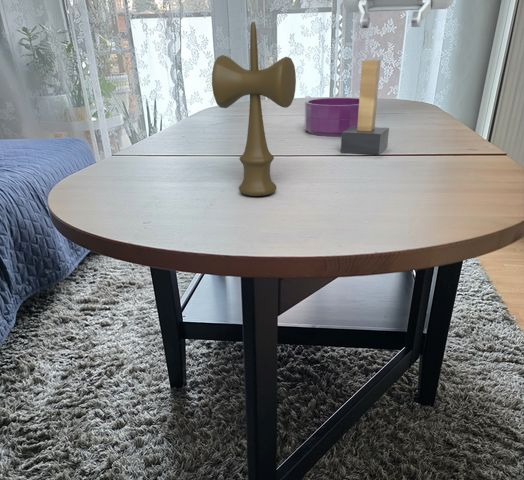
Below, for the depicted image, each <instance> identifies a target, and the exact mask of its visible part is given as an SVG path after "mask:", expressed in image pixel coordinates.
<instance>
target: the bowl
mask: <svg viewBox="0 0 524 480" xmlns="http://www.w3.org/2000/svg"><path fill="white" fill-rule="evenodd" d="M358 111H359V98H357V97H323V98H314V99H308V100H306V101H305V102H304V129H305V130H307V132H308V134H310V135H313V136H314V135H315V136H321V137H342V132H343V131H345V130H347V129H349V128H350V127H352V126H357V125H358Z"/></svg>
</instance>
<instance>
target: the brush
mask: <svg viewBox="0 0 524 480" xmlns="http://www.w3.org/2000/svg"><path fill="white" fill-rule="evenodd" d="M360 71H361V72H360V87H359V111H358V125H357V126H352V127H350V128H349V129H347V130H345V131H343V132H342V136H341V138H340V139H341V140H340V153H342V154H355V155H356V154H357V155H371V156H372V155H373V156H379V155H380V154H381V153H382V152H384V151H386V149H387V148H388V144H389V143H388V142H389V132H390V128H389V127H379V126H378V127H377V126H376V117H377V105H378V95H379V94H378V93H379V83H380V82H379V81H380V73H381V72H380V71H381V59H365V60H362V61H361V69H360Z"/></svg>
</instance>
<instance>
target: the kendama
mask: <svg viewBox="0 0 524 480" xmlns="http://www.w3.org/2000/svg"><path fill="white" fill-rule="evenodd" d="M249 32H250V35H249V39H250V40H249V44H250V45H249V55H250V56H249V65H250V66H249V69H246V68H244V67H242V66H241V65H239V64H238V63H237V62H236V61H234V59H232V58H231V57H229V56H227V55H224V54H221V55H219V56H217V57H216V59H215V61H214V62H213V65H212V66H213V67H212V73H211V89H212V94H213V97H214V100H215V103H216V104H217V106H218V107H219V108H221V109H227V108H229V107H231V106H232V105H233V104H235V103H236V102H237V101H238V100H240V99H242V98H243V97H245V96H249V110H248V111H249V113H248V125H247V135H246V143H245V148H244V152H243V153H242V155H240V157H238V158H239V161H240V163H241V164H242V166H243V178H242V182H241V183H240V185H238V191H239V192H240V193H241V194H242V195H245V196H250V197H262V196H268V195H271V194H274V192H275V191H276V190H277V185H276V183H275V182H274V181H272V177H271V165H272V162H273V161H274V159H275V156H274V155H273V154H271V152H270V150H269V148H268V144H267V138H266V132H265V125H264V119H263V109H262V101H261V100H262V99H261V98H262V97H261V96H263V97H265V98H267V99H268V100H270V101H272V102H273V103H275V104H276V105H277V106H279V107H281V108H284V109H287V108H289V107H290V106H291V105H292V103H293V102H294V99H295V95H296V87H297V75H296V73H297V72H296V67H295V66H296V65H295V64H294V62H293V59H292V58H291V57H289V56H283V57H282V58H280V59H279V60H277V61H276V62H274V63H272V64H271V65H270V66H268V67H266V68H263V69H259V52H258V51H259V50H258V33H257V25H256V22H255V21H251V24H250V31H249Z"/></svg>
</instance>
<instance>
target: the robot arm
mask: <svg viewBox="0 0 524 480" xmlns="http://www.w3.org/2000/svg"><path fill="white" fill-rule="evenodd" d="M342 3H343V8H344V9H345V11H346V12H347V13H358V14H359V17H360V19H359V27H360V29H369V28H370V25H371V18H370V16H371V15H370V12H372V13H373V12H397V11H398V12H400V11H402V12H403V11H413V12H412V16H411V19H410V22H411V28H420V27H421V24H422V22H423V20H424V19H425V18H426V17H427V16H428V15H429V14H430V13H431V10H447V9H448V8H449V7H451V6H452V5H453V4H454V0H342Z"/></svg>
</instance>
